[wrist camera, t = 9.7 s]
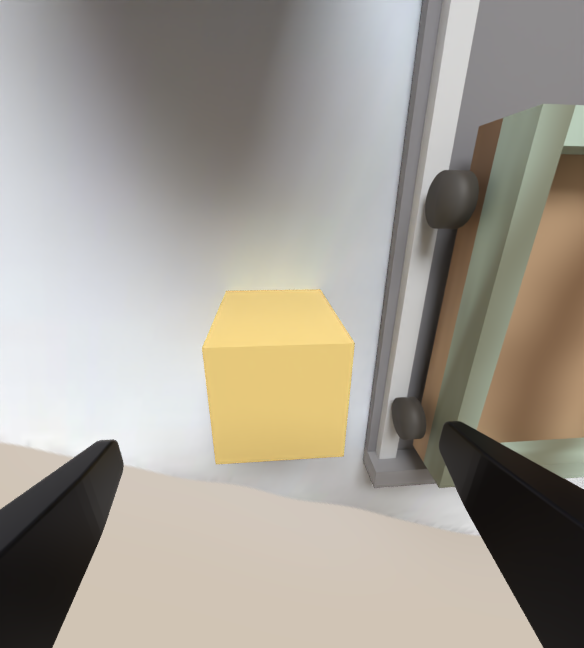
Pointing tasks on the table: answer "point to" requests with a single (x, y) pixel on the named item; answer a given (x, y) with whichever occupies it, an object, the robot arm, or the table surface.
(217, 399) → the ochre block
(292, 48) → the table surface
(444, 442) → the robot arm
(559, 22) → the track
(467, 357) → the cart
